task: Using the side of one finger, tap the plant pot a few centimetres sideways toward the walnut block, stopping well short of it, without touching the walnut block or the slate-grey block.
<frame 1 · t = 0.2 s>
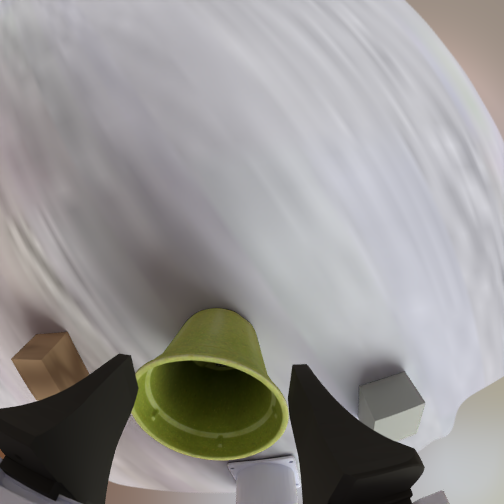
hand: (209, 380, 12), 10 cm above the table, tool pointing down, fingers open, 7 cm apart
walnut block: (62, 353, 24), on the table
slate block: (380, 395, 25), on the table
plant pot: (218, 338, 23), on the table
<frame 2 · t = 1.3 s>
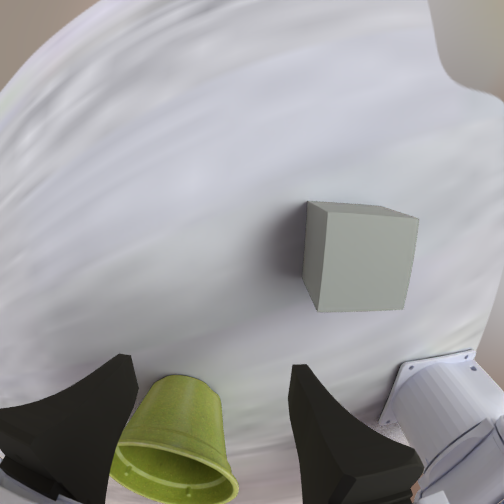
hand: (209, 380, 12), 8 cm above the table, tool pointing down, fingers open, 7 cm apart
slate block: (342, 241, 18), on the table
plant pot: (186, 398, 22), on the table
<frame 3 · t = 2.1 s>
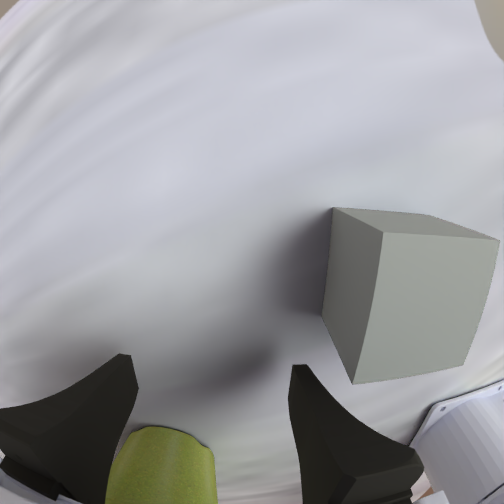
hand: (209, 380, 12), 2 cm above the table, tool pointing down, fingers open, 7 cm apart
slate block: (378, 264, 12), on the table
plant pot: (171, 448, 16), on the table
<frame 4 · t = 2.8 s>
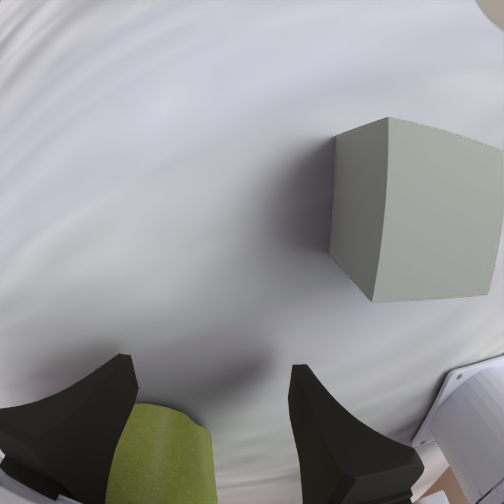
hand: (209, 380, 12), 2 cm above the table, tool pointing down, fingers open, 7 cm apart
slate block: (385, 199, 12), on the table
plant pot: (163, 427, 15), on the table
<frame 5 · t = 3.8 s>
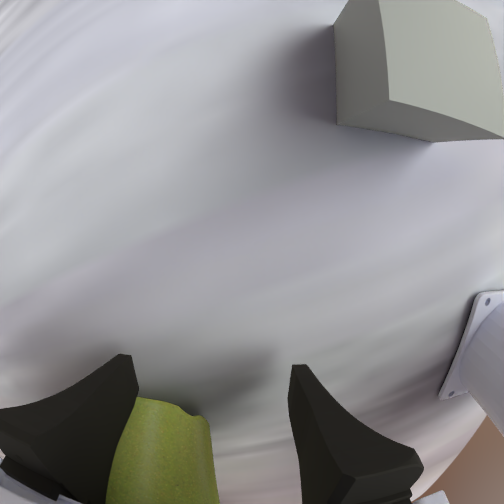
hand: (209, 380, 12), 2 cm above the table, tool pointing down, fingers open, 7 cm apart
slate block: (387, 81, 10), on the table
plant pot: (155, 413, 14), point 1 cm above the table, touching gripper
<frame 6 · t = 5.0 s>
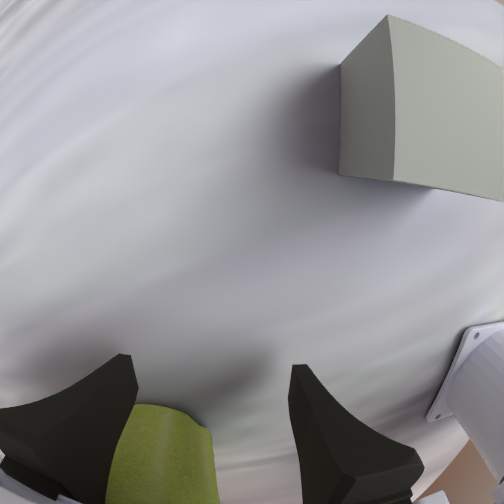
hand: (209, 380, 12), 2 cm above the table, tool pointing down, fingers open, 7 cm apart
slate block: (392, 126, 11), on the table
plant pot: (164, 428, 15), on the table, touching gripper
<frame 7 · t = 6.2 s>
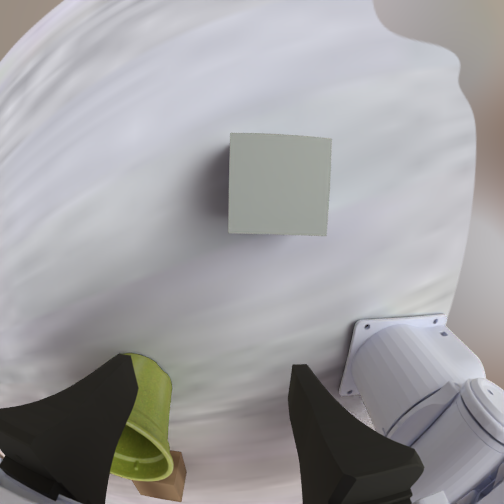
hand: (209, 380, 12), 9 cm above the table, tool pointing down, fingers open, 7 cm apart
walnut block: (163, 459, 27), on the table
slate block: (272, 181, 19), on the table
plant pot: (141, 377, 23), on the table
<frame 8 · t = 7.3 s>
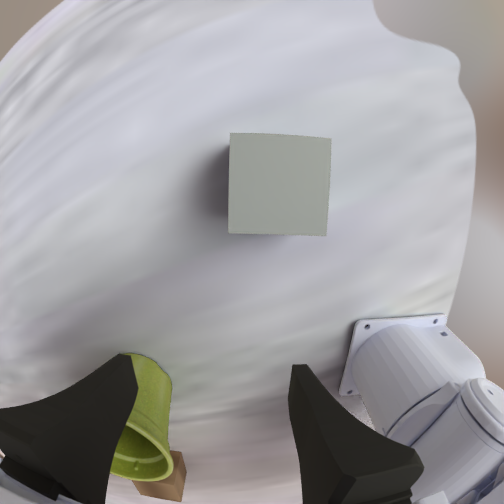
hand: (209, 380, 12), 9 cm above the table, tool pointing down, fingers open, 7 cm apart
walnut block: (163, 459, 27), on the table
slate block: (272, 181, 19), on the table
plant pot: (141, 377, 23), on the table
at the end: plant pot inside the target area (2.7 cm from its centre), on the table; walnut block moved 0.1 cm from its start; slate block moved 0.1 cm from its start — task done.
